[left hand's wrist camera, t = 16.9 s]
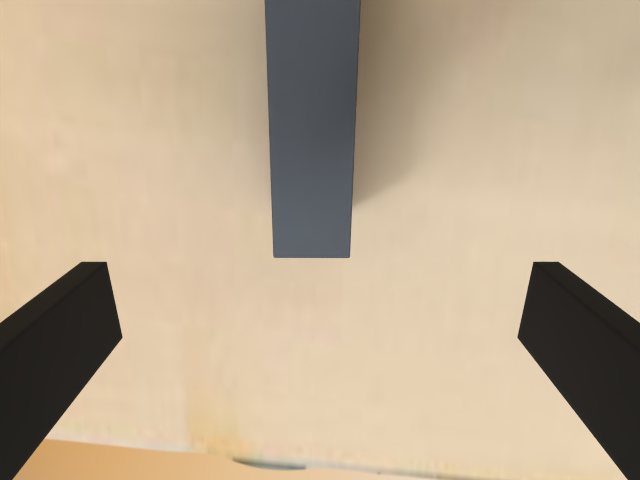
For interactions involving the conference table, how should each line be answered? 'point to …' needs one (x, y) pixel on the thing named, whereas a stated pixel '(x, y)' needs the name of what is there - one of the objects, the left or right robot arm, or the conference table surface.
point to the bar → (312, 124)
